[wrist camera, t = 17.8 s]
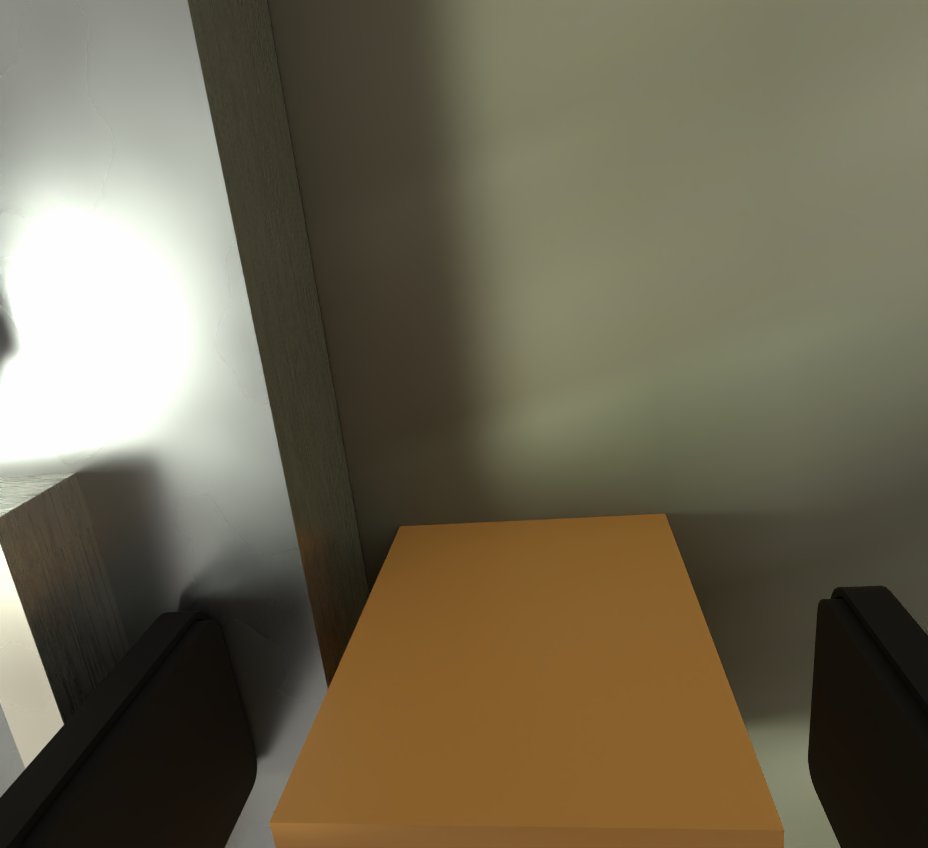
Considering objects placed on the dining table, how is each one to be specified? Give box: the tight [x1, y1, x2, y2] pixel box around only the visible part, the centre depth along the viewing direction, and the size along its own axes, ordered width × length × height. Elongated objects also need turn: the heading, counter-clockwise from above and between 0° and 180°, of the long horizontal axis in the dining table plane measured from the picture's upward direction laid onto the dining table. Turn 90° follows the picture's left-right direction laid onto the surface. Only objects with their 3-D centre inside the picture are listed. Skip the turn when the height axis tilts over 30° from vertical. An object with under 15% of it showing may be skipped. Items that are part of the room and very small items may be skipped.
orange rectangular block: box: [269, 513, 784, 848], centre depth 9 cm, size 4×4×6 cm
